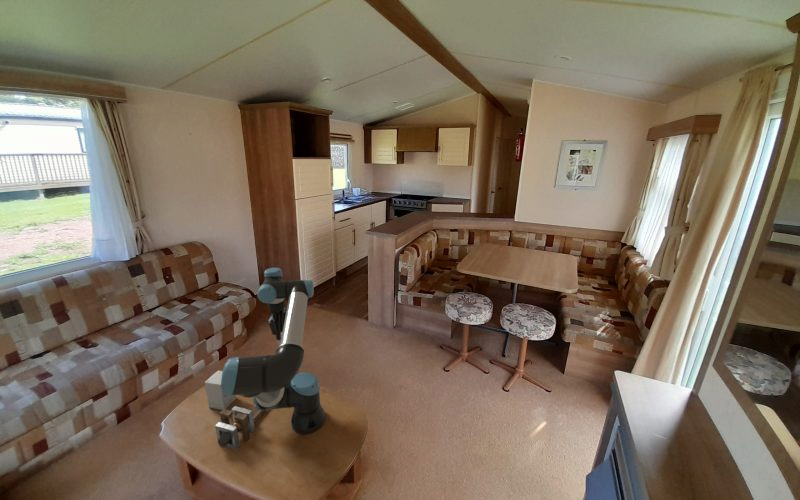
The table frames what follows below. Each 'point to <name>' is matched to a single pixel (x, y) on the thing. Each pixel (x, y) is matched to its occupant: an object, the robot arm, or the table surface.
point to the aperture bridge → (239, 417)
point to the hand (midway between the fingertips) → (280, 344)
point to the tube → (228, 435)
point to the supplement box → (217, 393)
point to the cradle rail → (257, 414)
